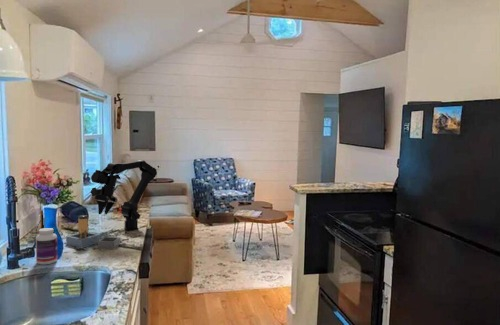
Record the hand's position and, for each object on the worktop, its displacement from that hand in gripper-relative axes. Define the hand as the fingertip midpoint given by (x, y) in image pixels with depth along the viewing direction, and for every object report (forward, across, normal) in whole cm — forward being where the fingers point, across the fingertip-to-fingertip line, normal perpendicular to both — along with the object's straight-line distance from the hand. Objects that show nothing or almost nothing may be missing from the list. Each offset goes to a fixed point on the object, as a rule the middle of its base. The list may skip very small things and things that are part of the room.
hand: (102, 214), depth 202 cm
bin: (+15, +11, -2) cm, 19 cm away
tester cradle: (+14, +15, +12) cm, 24 cm away
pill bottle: (+22, +38, -5) cm, 44 cm away
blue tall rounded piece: (+15, -5, -26) cm, 30 cm away
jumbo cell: (+14, +12, -2) cm, 19 cm away
